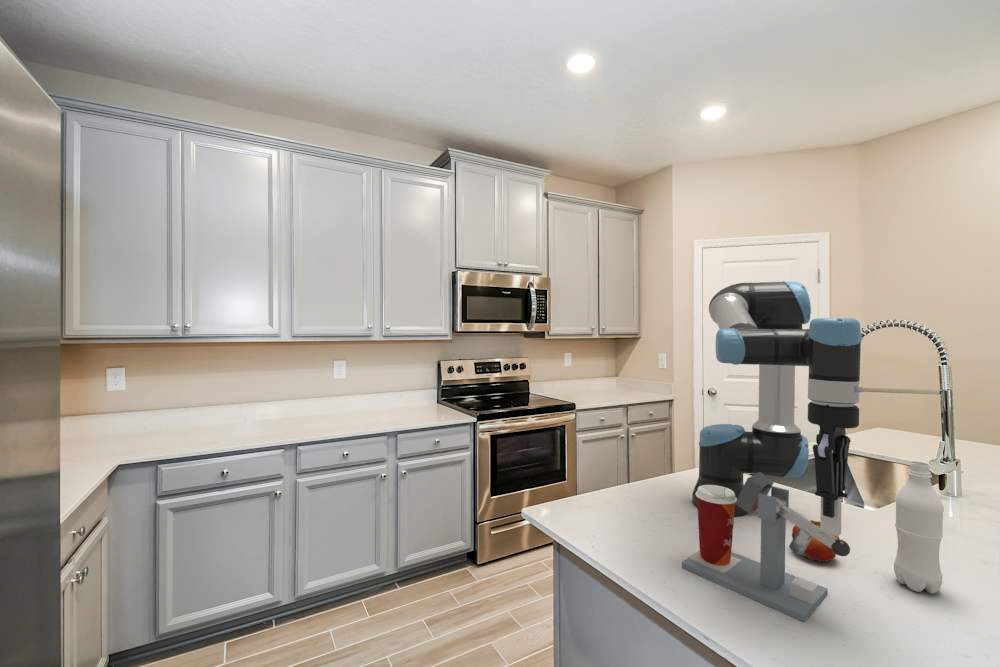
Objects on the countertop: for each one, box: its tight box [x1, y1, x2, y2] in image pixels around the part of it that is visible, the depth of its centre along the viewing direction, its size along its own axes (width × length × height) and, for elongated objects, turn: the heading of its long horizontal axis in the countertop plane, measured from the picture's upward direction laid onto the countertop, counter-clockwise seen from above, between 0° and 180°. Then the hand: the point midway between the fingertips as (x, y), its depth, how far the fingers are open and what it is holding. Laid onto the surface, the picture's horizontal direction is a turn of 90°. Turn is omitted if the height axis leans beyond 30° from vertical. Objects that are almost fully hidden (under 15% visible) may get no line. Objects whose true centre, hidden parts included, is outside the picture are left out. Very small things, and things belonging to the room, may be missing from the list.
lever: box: [735, 472, 851, 557], centre depth 87 cm, size 18×6×9 cm, turn 39°
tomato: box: [791, 519, 840, 562], centre depth 103 cm, size 9×9×8 cm
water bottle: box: [893, 460, 945, 595], centre depth 91 cm, size 7×7×25 cm
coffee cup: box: [695, 485, 737, 565], centre depth 99 cm, size 8×8×15 cm
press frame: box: [681, 485, 829, 623], centre depth 93 cm, size 23×13×20 cm, turn 39°
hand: (830, 532), depth 82 cm, fingers closed
